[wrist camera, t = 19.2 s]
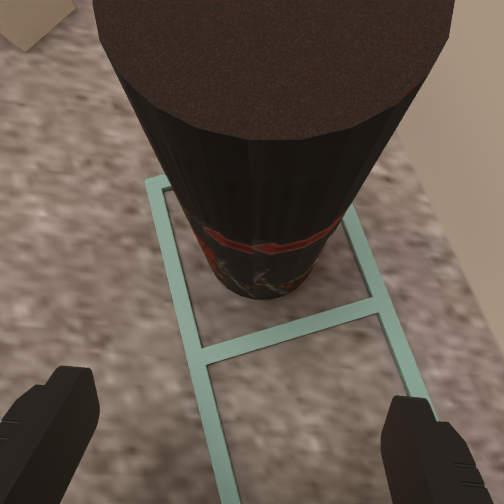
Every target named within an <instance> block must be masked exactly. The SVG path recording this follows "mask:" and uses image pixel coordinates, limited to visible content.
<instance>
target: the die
mask: <svg viewBox="0 0 504 504" xmlns="http://www.w3.org/2000/svg"><path fill="white" fill-rule="evenodd" d="M75 9H76V8H75V6H74V4H73V2H72V0H0V34H1V35H2V36H4V37H5V38H6V39H8V40H9V41H10V42H12V43H13V44H14V45H16V46H17V47H18V48H20V49H21V50H22V51H24V52H26V51H28V50H29V49H30V48H31V47H32V46H33V45H34V44H36V43H37V42H38V41H39V40H40V39H41V38H43V37H44V36H45V35H46V34H47V33H48V32H49V31H51V30H52V29H53V28H54V27H55V26H56V25H58V24H59V23H60V22H61V21H62V20H63V19H64V18H66V17H67V16H68V15H69V14H70V13H71V12H73V11H74V10H75Z"/></svg>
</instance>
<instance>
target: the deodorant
mask: <svg viewBox="0 0 504 504" xmlns="http://www.w3.org/2000/svg"><path fill="white" fill-rule="evenodd" d="M454 2H455V0H93V9H94V14H95V19H96V24H97V29H98V34H99V39H100V42H101V44H102V46H103V48H104V50H105V52H106V54H107V56H108V58H109V60H110V62H111V64H112V66H113V68H114V70H115V73H116V75H117V77H118V79H119V81H120V83H121V85H122V87H123V89H124V91H125V93H126V95H127V97H128V99H129V101H130V103H131V105H132V107H133V109H134V111H135V113H136V115H137V117H138V119H139V121H140V123H141V126H142V128H143V130H144V132H145V134H146V136H147V138H148V140H149V142H150V144H151V146H152V148H153V150H154V152H155V154H156V156H157V158H158V160H159V162H160V164H161V166H162V168H163V170H164V172H165V174H166V176H167V179H168V181H169V183H170V185H171V187H172V189H173V191H174V193H175V195H176V197H177V199H178V201H179V203H180V205H181V207H182V209H183V211H184V213H185V215H186V217H187V219H188V221H189V223H190V225H191V227H192V229H193V232H194V234H195V236H196V238H197V240H198V242H199V244H200V246H201V248H202V250H203V252H204V254H205V256H206V258H207V260H208V262H209V264H210V266H211V268H212V270H213V271H214V273H215V275H216V277H217V278H218V279H219V280H220V281H221V282H222V283H223V284H224V285H225V286H226V287H227V288H228V289H230V290H231V291H233V292H235V293H237V294H238V295H240V296H244V297H247V298H251V299H273V298H276V297H280V296H284V295H286V294H287V293H289V292H291V291H293V290H294V289H296V288H297V287H298V286H299V285H300V284H301V283H302V282H303V281H304V280H305V279H306V278H307V277H308V275H309V273H310V272H311V270H312V268H313V267H314V265H315V263H316V262H317V260H318V258H319V256H320V255H321V253H322V251H323V250H324V248H325V246H326V245H327V243H328V241H329V240H330V238H331V236H332V235H333V233H334V231H335V230H336V228H337V226H338V225H339V223H340V221H341V220H342V218H343V216H344V215H345V213H346V211H347V210H348V208H349V206H350V205H351V203H352V201H353V200H354V198H355V196H356V195H357V193H358V191H359V190H360V188H361V186H362V185H363V183H364V181H365V180H366V178H367V176H368V175H369V173H370V171H371V170H372V168H373V166H374V165H375V163H376V161H377V160H378V158H379V156H380V155H381V153H382V151H383V150H384V148H385V146H386V145H387V143H388V141H389V140H390V138H391V136H392V135H393V133H394V131H395V130H396V128H397V126H398V125H399V123H400V121H401V120H402V118H403V116H404V114H405V113H406V111H407V109H408V108H409V106H410V104H411V103H412V101H413V99H414V98H415V96H416V94H417V92H418V91H419V89H420V88H421V86H422V84H423V83H424V81H425V79H426V78H427V76H428V74H429V73H430V71H431V69H432V67H433V65H434V63H435V62H436V60H437V58H438V56H439V54H440V53H441V51H442V49H443V47H444V45H445V43H446V42H447V40H448V38H449V32H450V26H451V20H452V14H453V8H454Z"/></svg>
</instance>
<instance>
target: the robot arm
mask: <svg viewBox="0 0 504 504" xmlns="http://www.w3.org/2000/svg"><path fill="white" fill-rule="evenodd" d="M99 413H100V406H99V401H98V396H97V391H96V387H95V382H94V378H93V373H92V370H91V369H90V368H84V367H73V366H59V367H58V368H57V369H56V370H55V371H54V372H53V374H52V375H51V377H50V378H49V380H48V381H47V383H46V384H45V385H35V386H33V387H32V388H31V389H29V390H28V391H27V392H26V393H24V394H23V395H22V396H21V397H19V398H18V399H17V400H16V401H15V402H14V403H13V405H12V406H11V408H10V409H9V410H8V412H7V413H6V414H5V416H4V417H3V418H2V422H1V423H0V504H60V502H61V500H62V498H63V496H64V494H65V492H66V490H67V488H68V486H69V483H70V481H71V479H72V477H73V475H74V473H75V471H76V469H77V467H78V465H79V463H80V461H81V458H82V456H83V454H84V452H85V450H86V448H87V446H88V444H89V442H90V440H91V438H92V436H93V433H94V431H95V429H96V426H97V423H98V419H99ZM381 454H382V460H383V464H384V468H385V472H386V476H387V481H388V485H389V489H390V493H391V498H392V502H393V504H494V503H493V501H492V499H491V497H490V494H489V492H488V490H487V488H485V486H484V481H483V479H482V477H481V475H480V472H479V470H478V469H476V464H475V461H474V459H473V457H472V455H471V453H470V450H469V448H468V446H467V444H466V442H465V441H464V439H463V438H462V437H461V436H460V435H459V434H458V433H457V431H456V430H455V429H454V428H453V427H452V426H451V424H450V423H449V422H440V421H437V420H436V418H435V415H434V413H433V410H432V408H431V405H430V403H429V402H428V400H427V399H426V398H420V397H409V396H397V395H396V396H394V397H393V399H392V402H391V405H390V408H389V411H388V414H387V417H386V420H385V423H384V426H383V430H382V433H381Z"/></svg>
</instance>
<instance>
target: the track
mask: <svg viewBox="0 0 504 504" xmlns="http://www.w3.org/2000/svg"><path fill="white" fill-rule="evenodd" d="M144 181H145V185H146V189H147V193H148V198H149V202H150V206H151V210H152V214H153V219H154V223H155V227H156V231H157V235H158V239H159V244H160V248H161V252H162V256H163V260H164V265H165V269H166V273H167V277H168V281H169V286H170V290H171V294H172V298H173V302H174V306H175V311H176V315H177V319H178V323H179V327H180V332H181V336H182V340H183V344H184V348H185V353H186V357H187V361H188V365H189V369H190V374H191V378H192V382H193V386H194V390H195V394H196V399H197V403H198V407H199V411H200V415H201V420H202V424H203V428H204V432H205V436H206V441H207V445H208V449H209V453H210V457H211V461H212V466H213V470H214V474H215V478H216V482H217V487H218V491H219V495H220V499H221V503H222V504H241V500H240V496H239V492H238V488H237V484H236V480H235V476H234V472H233V468H232V464H231V460H230V456H229V452H228V448H227V444H226V440H225V436H224V432H223V428H222V424H221V420H220V416H219V412H218V408H217V404H216V400H215V396H214V392H213V388H212V384H211V380H210V376H209V372H208V369H207V365H208V364H211V363H214V362H217V361H221V360H224V359H227V358H231V357H234V356H237V355H240V354H244V353H247V352H250V351H253V350H257V349H260V348H263V347H267V346H270V345H273V344H276V343H280V342H283V341H286V340H290V339H293V338H296V337H299V336H303V335H306V334H309V333H313V332H316V331H319V330H322V329H326V328H329V327H332V326H336V325H339V324H342V323H345V322H349V321H352V320H355V319H358V318H362V317H365V316H368V315H372V314H375V313H377V316H378V318H379V321H380V324H381V326H382V329H383V331H384V334H385V337H386V339H387V342H388V345H389V347H390V350H391V352H392V355H393V358H394V360H395V363H396V365H397V368H398V371H399V373H400V376H401V379H402V381H403V384H404V386H405V389H406V392H407V394H408V396H409V397H420V398H426V399H427V400H428V402H429V403H430V405H431V408H432V410H433V413H434V415H435V418H436V420H437V421H439V420H438V418H437V415H436V413H435V410H434V408H433V405H432V403H431V400H430V398H429V395H428V393H427V390H426V388H425V385H424V383H423V380H422V378H421V375H420V373H419V370H418V368H417V365H416V362H415V360H414V357H413V355H412V352H411V350H410V347H409V345H408V342H407V340H406V337H405V335H404V332H403V330H402V327H401V325H400V322H399V320H398V317H397V315H396V312H395V310H394V307H393V305H392V302H391V299H390V297H389V294H388V292H387V289H386V287H385V284H384V282H383V279H382V277H381V274H380V272H379V269H378V267H377V264H376V262H375V259H374V257H373V254H372V252H371V249H370V247H369V244H368V242H367V239H366V236H365V234H364V231H363V229H362V226H361V224H360V221H359V219H358V216H357V214H356V211H355V209H354V206H353V204H352V203H351V205H350V206H349V208H348V210H347V211H346V213H345V215H344V216H343V218H342V220H341V222H342V224H343V227H344V230H345V232H346V235H347V237H348V240H349V243H350V245H351V248H352V251H353V253H354V256H355V258H356V261H357V264H358V266H359V269H360V271H361V274H362V277H363V279H364V282H365V284H366V287H367V290H368V292H369V295H370V298H368V299H364V300H361V301H358V302H354V303H351V304H348V305H344V306H341V307H338V308H334V309H331V310H328V311H325V312H321V313H318V314H315V315H311V316H308V317H305V318H301V319H298V320H295V321H291V322H288V323H285V324H281V325H278V326H275V327H271V328H268V329H265V330H262V331H258V332H255V333H252V334H248V335H245V336H242V337H238V338H235V339H232V340H228V341H225V342H222V343H218V344H215V345H212V346H209V347H205V348H202V345H201V341H200V337H199V333H198V329H197V325H196V321H195V317H194V313H193V309H192V305H191V301H190V297H189V293H188V289H187V285H186V281H185V277H184V273H183V269H182V265H181V261H180V257H179V253H178V249H177V245H176V241H175V237H174V233H173V229H172V225H171V221H170V217H169V213H168V209H167V205H166V201H165V197H164V193H163V191H167V190H170V189H172V187H171V185H170V183H169V181H168V179H167V176H166V174H163V175H160V176H156V177H152V178H149V179H145V180H144Z"/></svg>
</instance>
